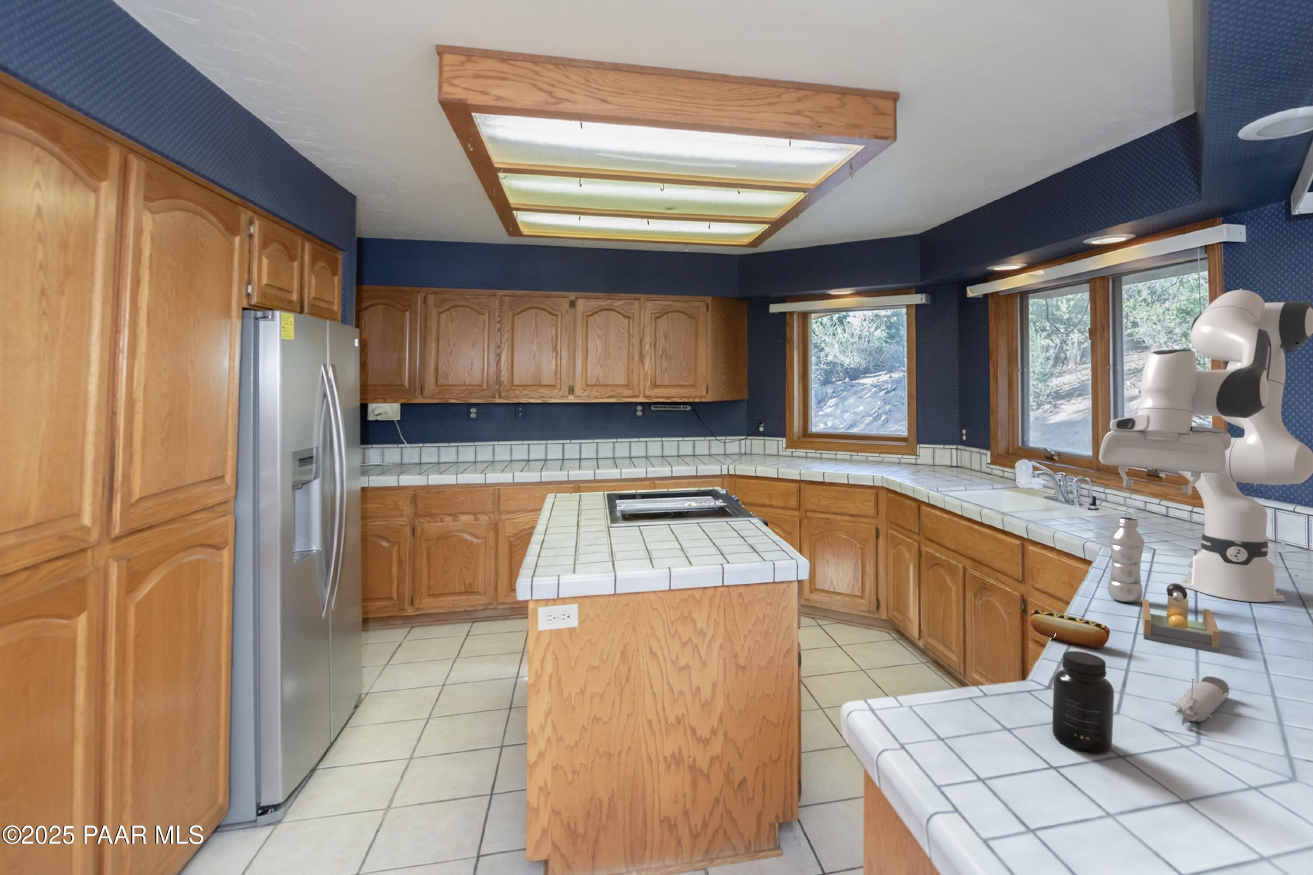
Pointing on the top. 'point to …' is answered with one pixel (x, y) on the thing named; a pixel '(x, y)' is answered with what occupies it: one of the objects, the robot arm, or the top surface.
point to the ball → (1178, 622)
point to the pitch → (1181, 630)
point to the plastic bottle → (1126, 561)
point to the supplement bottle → (1083, 704)
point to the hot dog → (1069, 628)
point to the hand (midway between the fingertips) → (1156, 490)
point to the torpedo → (1201, 699)
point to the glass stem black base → (1177, 601)
